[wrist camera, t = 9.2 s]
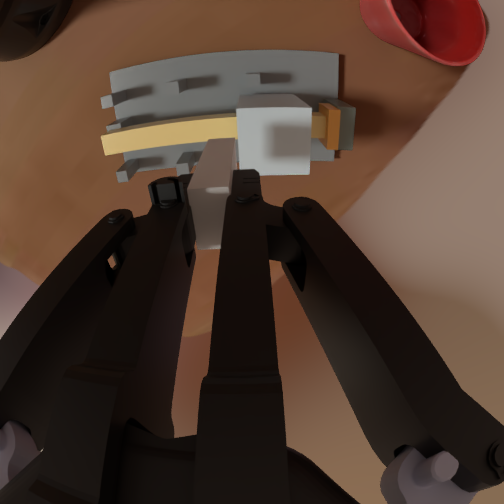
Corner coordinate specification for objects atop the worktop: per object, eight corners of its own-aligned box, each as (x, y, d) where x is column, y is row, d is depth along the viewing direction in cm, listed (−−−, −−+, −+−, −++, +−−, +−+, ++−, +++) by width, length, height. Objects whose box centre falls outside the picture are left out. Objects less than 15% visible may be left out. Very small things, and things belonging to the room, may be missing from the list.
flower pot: (393, 76, 23) (444, 90, 16) (323, 2, 19) (357, -20, 11) (445, 32, 19) (501, 38, 11) (385, -40, 14) (431, -61, 6)
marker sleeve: (239, 95, 23) (236, 108, 17) (293, 94, 23) (311, 107, 17) (241, 143, 26) (240, 176, 20) (293, 142, 26) (309, 174, 20)
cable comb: (113, 71, 23) (81, 78, 17) (336, 53, 22) (360, 53, 17) (130, 169, 30) (107, 197, 25) (332, 158, 30) (351, 183, 25)
